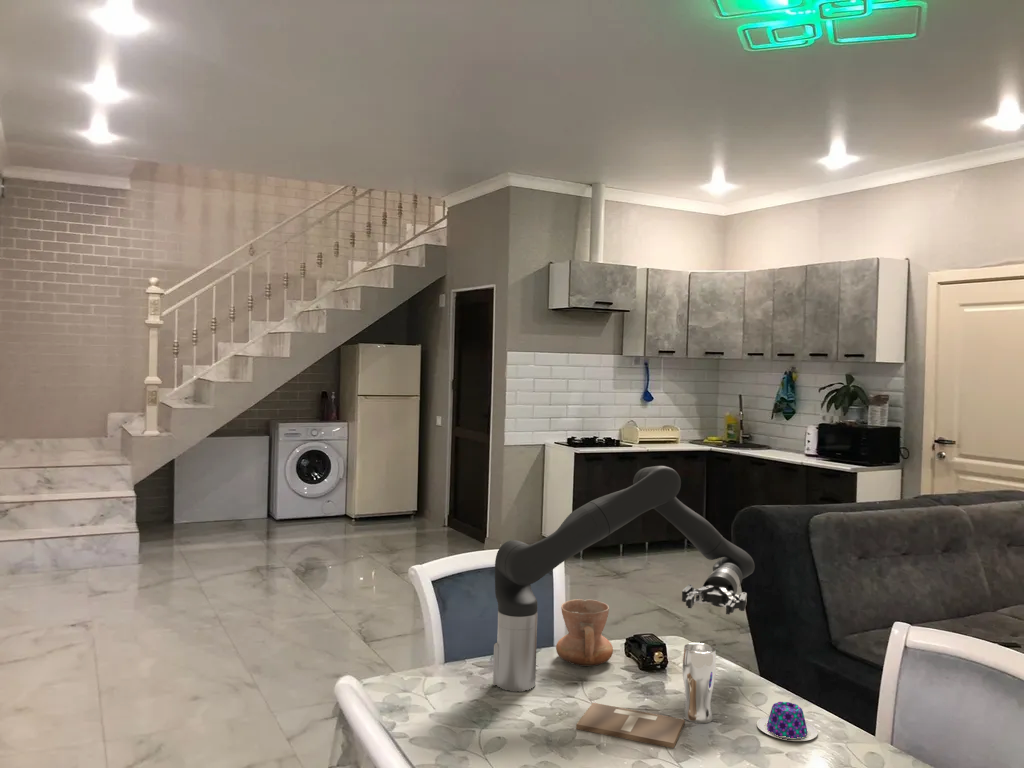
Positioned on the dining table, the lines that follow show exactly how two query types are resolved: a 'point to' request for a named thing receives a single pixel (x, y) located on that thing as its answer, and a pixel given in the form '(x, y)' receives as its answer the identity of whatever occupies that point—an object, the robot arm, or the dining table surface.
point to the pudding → (787, 722)
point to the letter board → (631, 724)
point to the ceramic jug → (584, 633)
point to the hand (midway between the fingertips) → (708, 607)
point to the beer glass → (698, 681)
